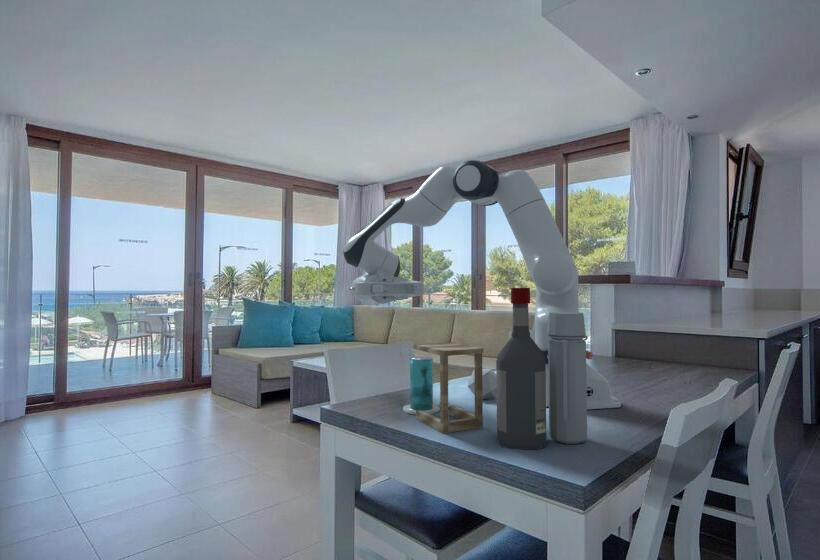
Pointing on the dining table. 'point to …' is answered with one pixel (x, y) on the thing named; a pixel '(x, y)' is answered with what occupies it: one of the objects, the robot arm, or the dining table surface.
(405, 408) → the coaster
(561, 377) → the water bottle
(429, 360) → the can
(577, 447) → the dining table surface
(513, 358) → the liquor
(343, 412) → the dining table surface
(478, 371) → the rack
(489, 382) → the die
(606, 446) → the dining table surface
